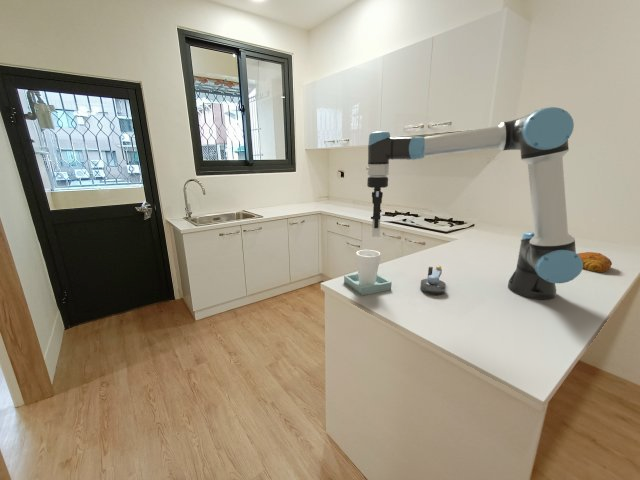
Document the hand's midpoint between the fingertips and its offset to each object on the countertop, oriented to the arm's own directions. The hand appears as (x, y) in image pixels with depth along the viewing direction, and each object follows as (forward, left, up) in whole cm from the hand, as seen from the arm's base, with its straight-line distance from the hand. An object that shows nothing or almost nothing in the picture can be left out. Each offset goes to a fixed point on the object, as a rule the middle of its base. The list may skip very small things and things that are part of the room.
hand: (375, 232), depth 115 cm
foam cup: (0, +3, -21) cm, 22 cm away
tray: (0, +3, -22) cm, 22 cm away
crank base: (-13, -18, -22) cm, 31 cm away
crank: (-11, -21, -19) cm, 31 cm away
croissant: (-24, -104, -22) cm, 109 cm away
